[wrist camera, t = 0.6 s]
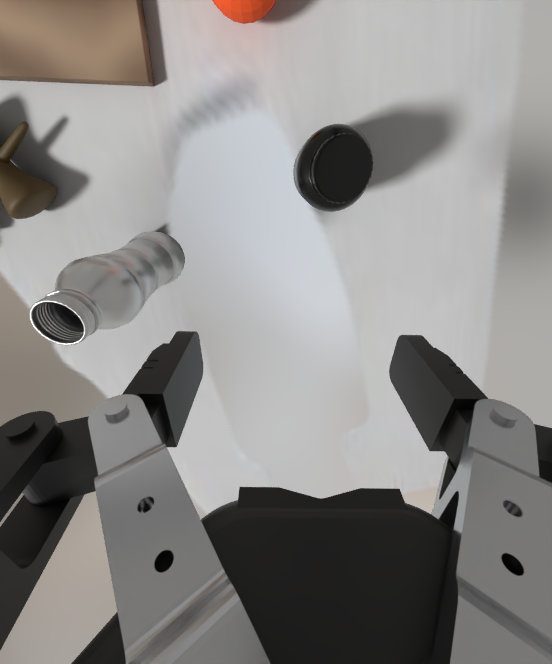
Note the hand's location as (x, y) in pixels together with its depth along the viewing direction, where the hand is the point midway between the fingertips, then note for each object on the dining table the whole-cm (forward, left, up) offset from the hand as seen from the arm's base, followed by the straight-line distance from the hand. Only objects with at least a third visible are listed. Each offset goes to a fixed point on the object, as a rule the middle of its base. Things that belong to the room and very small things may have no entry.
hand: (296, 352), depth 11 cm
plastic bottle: (+3, -16, -28) cm, 32 cm away
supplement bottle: (-7, +4, -28) cm, 29 cm away
